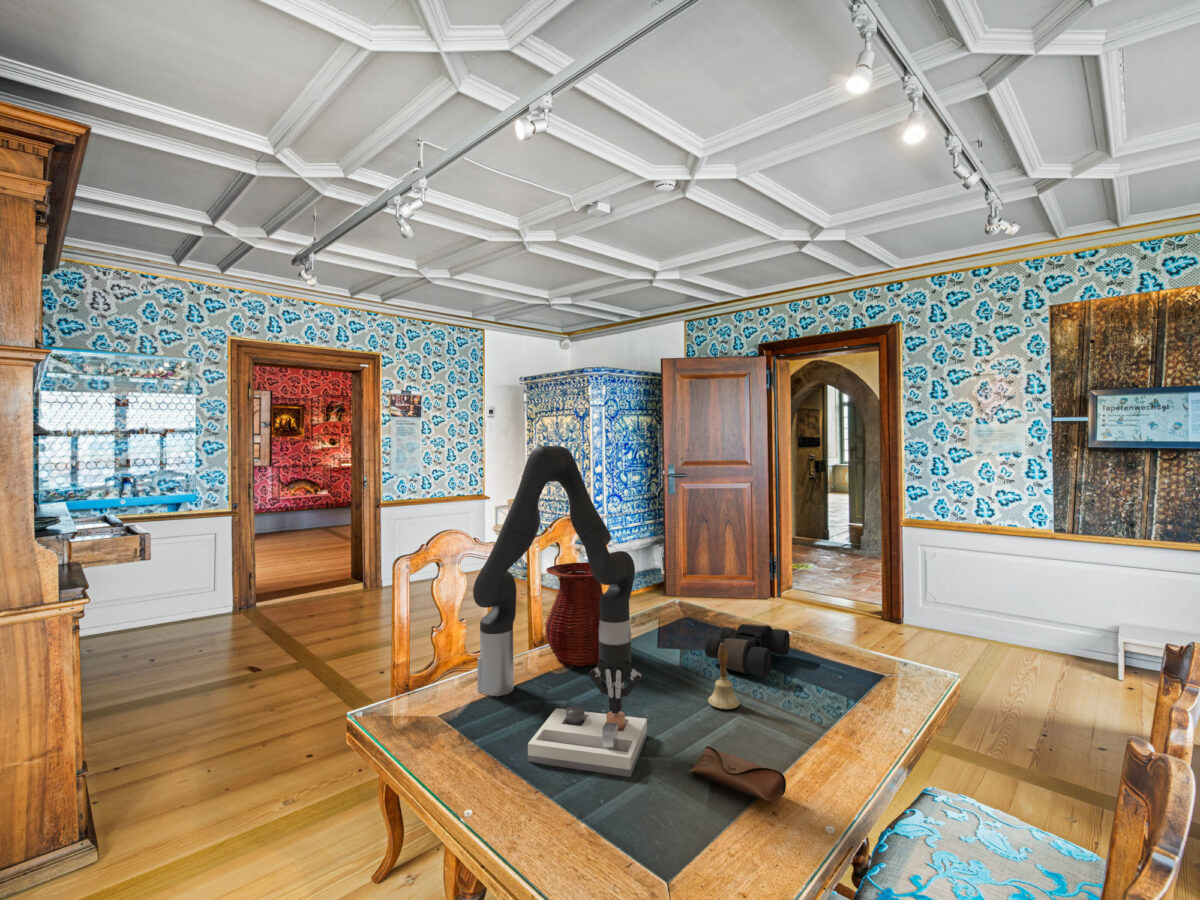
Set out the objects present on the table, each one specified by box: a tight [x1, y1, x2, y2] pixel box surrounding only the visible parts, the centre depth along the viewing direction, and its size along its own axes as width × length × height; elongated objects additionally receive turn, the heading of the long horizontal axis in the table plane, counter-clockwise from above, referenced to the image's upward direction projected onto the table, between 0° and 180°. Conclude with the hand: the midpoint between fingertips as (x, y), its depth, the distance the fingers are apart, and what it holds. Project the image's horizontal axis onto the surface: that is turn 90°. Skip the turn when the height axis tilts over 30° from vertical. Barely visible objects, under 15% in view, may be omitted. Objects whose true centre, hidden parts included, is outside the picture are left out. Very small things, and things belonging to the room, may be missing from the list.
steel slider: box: [602, 722, 618, 751], centre depth 124 cm, size 2×4×6 cm, turn 164°
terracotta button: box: [605, 710, 626, 730], centre depth 133 cm, size 4×4×3 cm
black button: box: [565, 705, 585, 725], centre depth 136 cm, size 4×4×3 cm
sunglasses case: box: [688, 746, 787, 803], centre depth 115 cm, size 18×7×7 cm
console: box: [527, 708, 648, 778], centre depth 130 cm, size 23×18×4 cm
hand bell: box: [707, 643, 740, 710], centre depth 153 cm, size 8×8×16 cm
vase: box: [544, 562, 604, 667], centre depth 186 cm, size 23×24×30 cm
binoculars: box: [704, 623, 791, 677], centre depth 183 cm, size 29×20×10 cm
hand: (616, 712), depth 133 cm, fingers closed
